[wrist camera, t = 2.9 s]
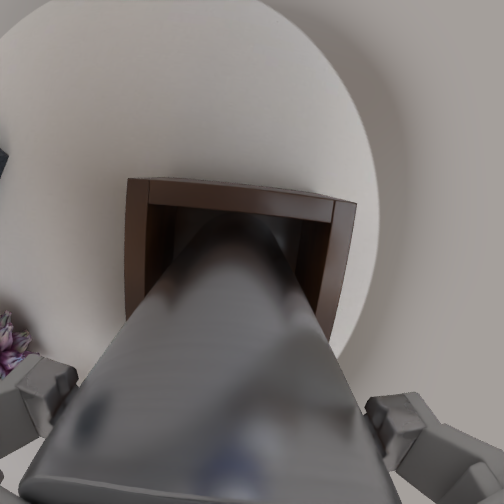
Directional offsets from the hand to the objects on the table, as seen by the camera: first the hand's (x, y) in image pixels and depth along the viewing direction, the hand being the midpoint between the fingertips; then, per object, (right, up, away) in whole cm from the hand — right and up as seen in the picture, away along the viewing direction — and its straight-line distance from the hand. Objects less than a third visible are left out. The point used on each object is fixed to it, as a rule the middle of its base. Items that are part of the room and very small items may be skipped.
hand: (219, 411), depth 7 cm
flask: (0, +4, +15) cm, 15 cm away
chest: (-1, +2, +17) cm, 17 cm away
